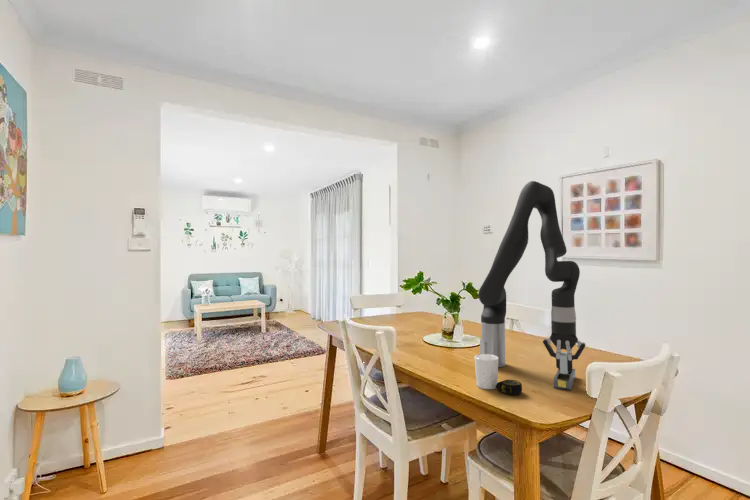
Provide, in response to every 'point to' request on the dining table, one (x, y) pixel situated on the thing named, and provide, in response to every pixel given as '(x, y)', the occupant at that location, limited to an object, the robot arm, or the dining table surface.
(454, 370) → the dining table surface
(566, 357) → the panel
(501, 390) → the tape measure
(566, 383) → the box
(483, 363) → the white cup
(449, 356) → the dining table surface
